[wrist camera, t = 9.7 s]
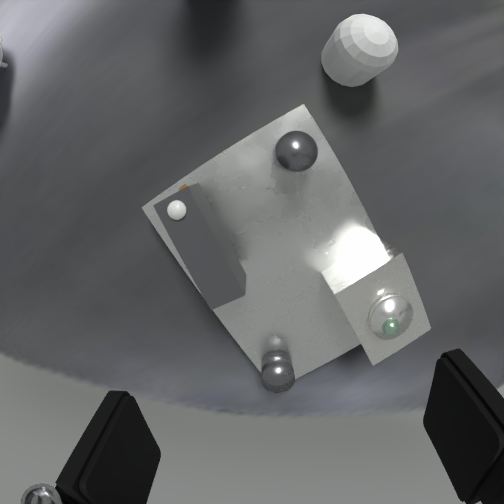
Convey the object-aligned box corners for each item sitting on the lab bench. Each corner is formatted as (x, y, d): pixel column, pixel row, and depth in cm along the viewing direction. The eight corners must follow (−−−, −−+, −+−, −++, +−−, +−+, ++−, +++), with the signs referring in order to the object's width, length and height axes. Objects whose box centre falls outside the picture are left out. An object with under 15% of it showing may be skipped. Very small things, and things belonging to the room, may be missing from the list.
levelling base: (298, 110, 26) (320, 84, 17) (399, 300, 31) (442, 346, 22) (152, 203, 29) (108, 221, 19) (272, 372, 33) (277, 435, 24)
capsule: (377, 50, 24) (412, 21, 17) (367, 94, 26) (404, 75, 18) (326, 31, 24) (349, -7, 16) (315, 76, 25) (336, 47, 18)
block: (246, 267, 26) (245, 296, 21) (219, 280, 27) (210, 311, 21) (202, 181, 25) (187, 186, 19) (174, 196, 25) (152, 205, 19)
